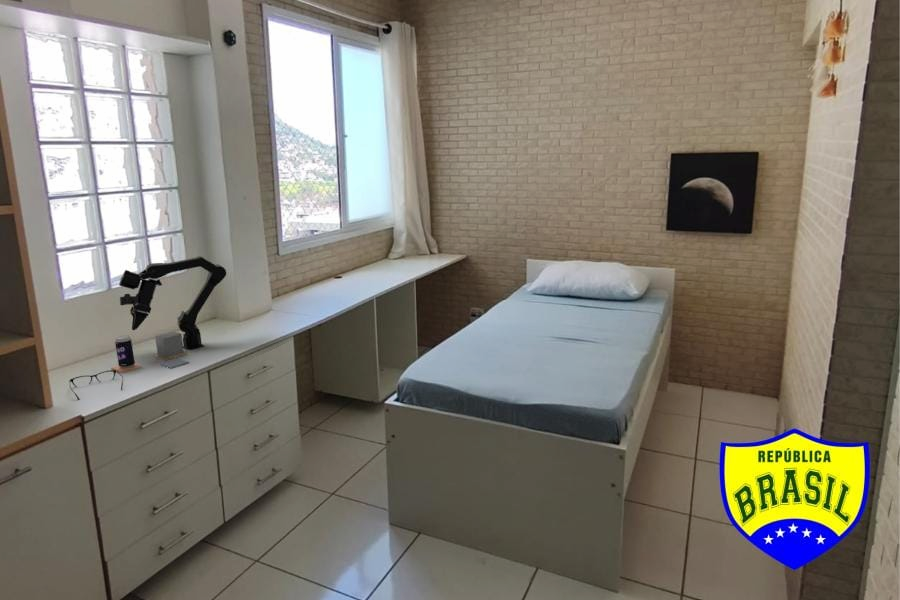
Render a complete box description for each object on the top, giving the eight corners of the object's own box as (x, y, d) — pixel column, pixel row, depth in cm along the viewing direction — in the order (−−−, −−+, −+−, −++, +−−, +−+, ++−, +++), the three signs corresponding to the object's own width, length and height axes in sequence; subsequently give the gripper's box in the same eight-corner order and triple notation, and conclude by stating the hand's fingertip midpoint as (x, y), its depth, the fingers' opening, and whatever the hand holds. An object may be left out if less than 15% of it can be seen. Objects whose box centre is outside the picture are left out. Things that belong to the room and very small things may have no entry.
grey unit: (177, 350, 259) (174, 330, 257) (187, 354, 255) (184, 333, 253) (154, 357, 251) (151, 336, 249) (164, 360, 247) (161, 339, 245)
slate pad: (178, 359, 248) (177, 358, 248) (189, 363, 244) (189, 361, 244) (159, 365, 242) (159, 363, 242) (170, 368, 237) (170, 367, 237)
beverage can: (120, 365, 241) (115, 336, 238) (135, 363, 243) (131, 334, 240) (118, 369, 236) (113, 340, 233) (134, 367, 238) (129, 338, 235)
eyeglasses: (119, 378, 230) (117, 368, 229) (127, 390, 217) (125, 380, 216) (69, 388, 220) (67, 378, 219) (73, 402, 208) (71, 391, 207)
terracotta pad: (131, 363, 245) (131, 361, 245) (141, 366, 240) (141, 365, 240) (111, 369, 239) (111, 367, 238) (121, 372, 234) (121, 371, 234)
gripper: (123, 289, 254) (111, 325, 250) (126, 285, 238) (113, 323, 235) (151, 297, 259) (140, 332, 256) (156, 293, 243) (144, 330, 240)
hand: (134, 329), depth 246 cm, fingers open, 9 cm apart
